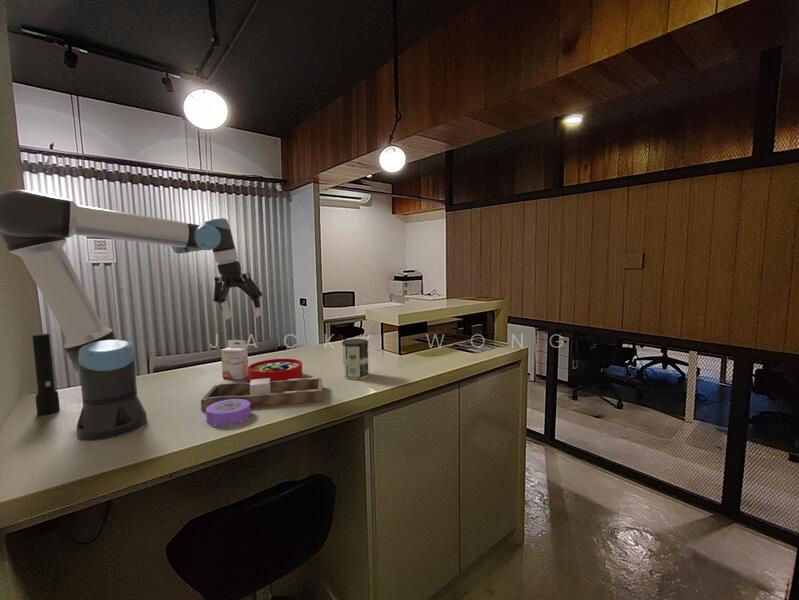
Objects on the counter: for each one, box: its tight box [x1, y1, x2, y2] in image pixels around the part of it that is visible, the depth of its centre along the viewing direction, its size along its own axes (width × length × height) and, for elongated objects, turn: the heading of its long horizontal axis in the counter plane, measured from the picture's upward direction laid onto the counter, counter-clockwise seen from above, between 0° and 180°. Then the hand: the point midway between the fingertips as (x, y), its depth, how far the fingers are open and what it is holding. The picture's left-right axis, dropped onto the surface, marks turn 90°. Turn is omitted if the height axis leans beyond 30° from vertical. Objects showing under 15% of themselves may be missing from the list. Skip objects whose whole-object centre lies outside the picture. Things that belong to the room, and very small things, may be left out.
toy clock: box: [247, 358, 303, 383], centre depth 143 cm, size 20×6×20 cm
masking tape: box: [205, 399, 252, 427], centre depth 106 cm, size 12×12×4 cm
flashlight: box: [31, 333, 60, 416], centre depth 110 cm, size 5×24×5 cm
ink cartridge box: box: [221, 339, 249, 380], centre depth 145 cm, size 9×5×15 cm, turn 84°
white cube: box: [249, 378, 272, 395], centre depth 121 cm, size 6×6×6 cm
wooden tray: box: [200, 377, 323, 412], centre depth 122 cm, size 36×14×4 cm, turn 101°
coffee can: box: [341, 338, 370, 381], centre depth 145 cm, size 10×10×14 cm
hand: (243, 317), depth 138 cm, fingers open, 13 cm apart
